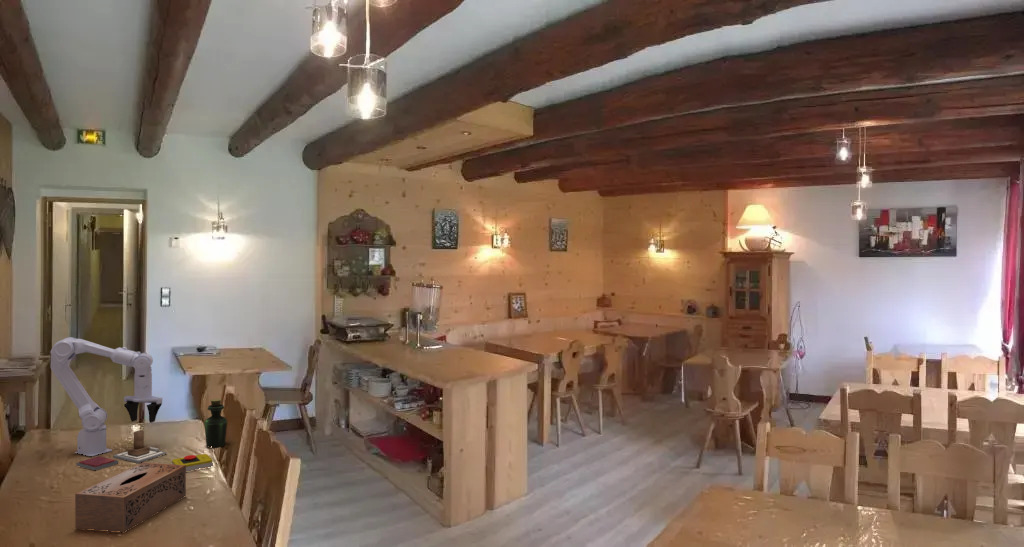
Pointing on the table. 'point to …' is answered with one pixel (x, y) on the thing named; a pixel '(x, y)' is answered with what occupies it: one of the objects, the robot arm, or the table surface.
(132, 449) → the stamp
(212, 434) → the potion bottle
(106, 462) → the ink pad
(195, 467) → the emergency button
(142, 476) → the tissue box cover
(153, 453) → the grey white rectangular board
